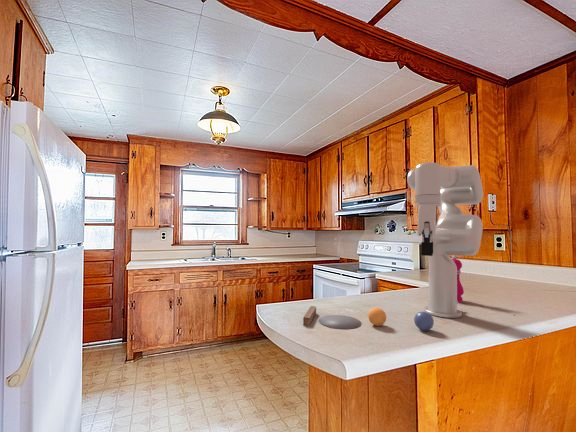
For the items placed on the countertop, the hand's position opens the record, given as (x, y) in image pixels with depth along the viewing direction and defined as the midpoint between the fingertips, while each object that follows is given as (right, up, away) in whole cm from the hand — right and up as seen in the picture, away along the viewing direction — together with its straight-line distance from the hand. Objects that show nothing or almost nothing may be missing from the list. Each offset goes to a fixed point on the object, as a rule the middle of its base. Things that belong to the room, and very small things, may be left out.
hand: (427, 254), depth 96 cm
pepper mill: (+29, -25, +36) cm, 52 cm away
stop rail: (-37, -23, +6) cm, 44 cm away
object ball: (-16, -20, +1) cm, 26 cm away
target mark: (-28, -23, +3) cm, 36 cm away
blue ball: (-2, -20, -3) cm, 21 cm away
